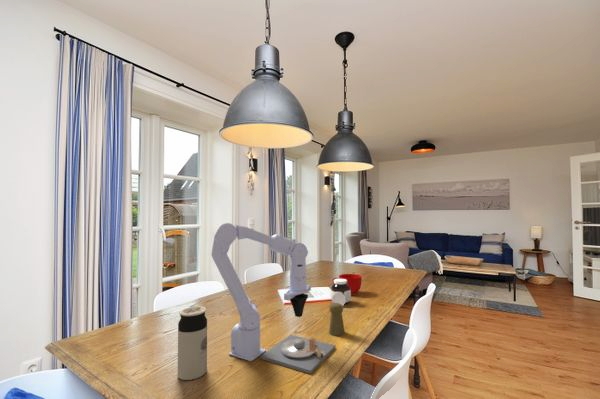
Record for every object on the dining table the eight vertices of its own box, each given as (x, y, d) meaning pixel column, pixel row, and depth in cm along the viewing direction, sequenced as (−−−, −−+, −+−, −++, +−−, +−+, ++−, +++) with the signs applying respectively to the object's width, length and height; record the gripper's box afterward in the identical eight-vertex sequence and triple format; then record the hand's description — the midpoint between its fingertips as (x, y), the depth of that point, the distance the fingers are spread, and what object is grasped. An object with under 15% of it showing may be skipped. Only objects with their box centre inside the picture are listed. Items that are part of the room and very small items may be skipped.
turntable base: (260, 359, 89) (260, 346, 89) (290, 337, 105) (290, 327, 105) (310, 374, 80) (310, 360, 80) (335, 348, 96) (335, 336, 96)
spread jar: (346, 299, 151) (345, 277, 152) (356, 306, 140) (356, 282, 141) (325, 302, 147) (325, 279, 148) (334, 308, 136) (334, 284, 137)
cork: (334, 328, 112) (333, 300, 113) (347, 332, 109) (346, 303, 109) (325, 333, 108) (325, 304, 108) (339, 337, 104) (338, 307, 105)
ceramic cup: (332, 290, 170) (332, 273, 171) (361, 290, 168) (360, 274, 169) (332, 296, 158) (331, 278, 158) (362, 297, 155) (362, 278, 156)
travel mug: (171, 378, 79) (172, 313, 80) (191, 364, 87) (191, 304, 88) (193, 383, 76) (194, 316, 77) (212, 368, 84) (212, 307, 85)
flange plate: (292, 338, 101) (292, 326, 101) (331, 347, 93) (331, 334, 94) (274, 353, 90) (273, 339, 90) (316, 364, 83) (315, 349, 83)
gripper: (296, 282, 90) (296, 325, 89) (317, 273, 102) (318, 311, 102) (278, 279, 94) (279, 321, 93) (301, 272, 106) (302, 308, 105)
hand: (298, 316), depth 98 cm, fingers closed
